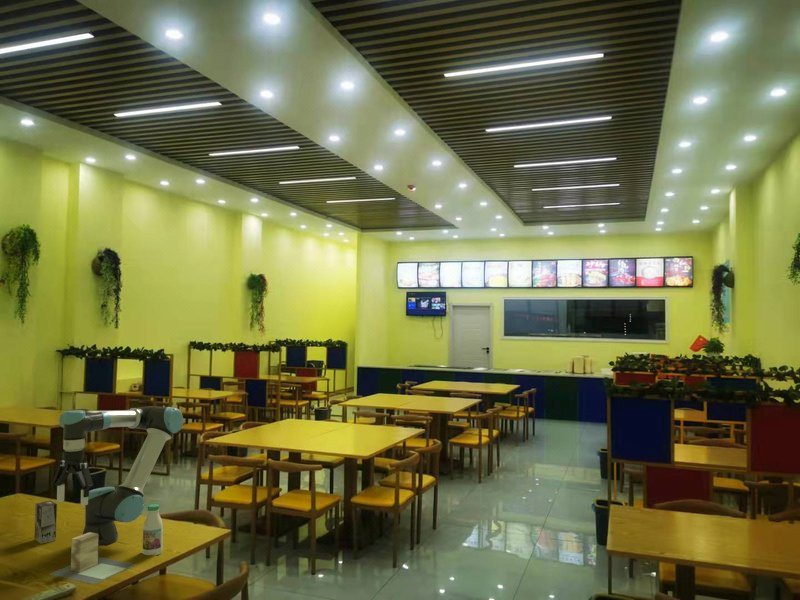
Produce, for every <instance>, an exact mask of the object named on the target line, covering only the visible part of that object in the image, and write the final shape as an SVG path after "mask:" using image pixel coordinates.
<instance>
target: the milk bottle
mask: <svg viewBox="0 0 800 600" xmlns="http://www.w3.org/2000/svg"><path fill="white" fill-rule="evenodd" d="M159 511H160V504H158V503H152V504H149V505H148V506H147V516H146V518H145V521H144V524H143V527H142V528H143V529H142V555H146V556H158V555H161V554H162V553H163V539H164V538H163V536H164V535H163V534H164V533H163V532H164V530H163V520H162V517H161V515H160V513H159Z"/></svg>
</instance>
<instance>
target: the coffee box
mask: <svg viewBox="0 0 800 600" xmlns="http://www.w3.org/2000/svg"><path fill="white" fill-rule="evenodd" d="M34 505H35V507H34V511H35V512H34V540H35V541H37V542H38V543H39V544H46V543H50V542H54V541H56V539H57V538H56V536H57V513H58V512H57V511H58V503H57V502H54V501H52V500H46V501H41V502H37V503H36V502H35V504H34Z"/></svg>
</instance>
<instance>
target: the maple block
mask: <svg viewBox="0 0 800 600" xmlns="http://www.w3.org/2000/svg"><path fill="white" fill-rule="evenodd" d="M82 534H83V533H82ZM82 534H80V535H78V536H75V537H73V538H72V537H71V552H70V553H71V554H70V555H71V556H70V565H71V570H73V571H77V572H81V571H84V570H86V569H88V568H91V567H93V566H96V565H98V557H99V545H98V534H96V533H91V532H89V533H86V534H83V535H82Z"/></svg>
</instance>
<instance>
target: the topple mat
mask: <svg viewBox="0 0 800 600" xmlns="http://www.w3.org/2000/svg"><path fill="white" fill-rule="evenodd" d="M137 565H138V564H137V563H131V562H126V561H121V560H116V559H111V558H106V557H102V556H98V565H96V566H93V567H91V568H88V569H86V570H84V571H81V572H77V571H73V570H71V564H70V565H68V566H65V567H63V568H61V569H60V568H59V569H57V570H55V571H52V572H50V573H49V575H50V576H55V577H58V578H59V577H60V578H65V579H67V580H68V579H69V580H72V581H76V582H81V583H85V584H90V585H96V584H98V583H101V582H102V581H104V580H107V579H109V578H111V577H114V576H115V575H118V574H121V573H123V572H124V571H126V570H129V569H131V568H134V567H135V566H137Z"/></svg>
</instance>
